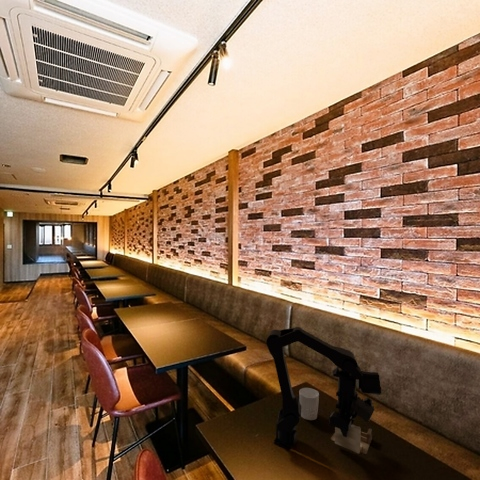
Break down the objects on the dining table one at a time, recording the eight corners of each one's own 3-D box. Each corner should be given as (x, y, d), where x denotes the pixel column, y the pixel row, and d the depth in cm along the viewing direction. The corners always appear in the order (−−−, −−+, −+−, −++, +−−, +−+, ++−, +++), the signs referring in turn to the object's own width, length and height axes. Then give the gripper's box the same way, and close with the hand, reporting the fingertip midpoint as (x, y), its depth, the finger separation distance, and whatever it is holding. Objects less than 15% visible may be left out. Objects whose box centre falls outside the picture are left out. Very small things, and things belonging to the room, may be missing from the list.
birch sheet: (334, 443, 99) (335, 420, 99) (336, 440, 100) (336, 418, 100) (359, 453, 95) (359, 429, 95) (360, 451, 96) (360, 427, 96)
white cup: (304, 409, 123) (304, 385, 123) (321, 416, 118) (322, 392, 118) (295, 417, 117) (295, 393, 117) (313, 425, 112) (313, 400, 112)
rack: (330, 441, 103) (330, 429, 103) (338, 427, 111) (339, 416, 111) (366, 456, 96) (366, 443, 96) (372, 440, 104) (372, 428, 104)
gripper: (365, 411, 86) (364, 463, 86) (377, 386, 101) (376, 430, 101) (328, 398, 92) (327, 446, 92) (345, 376, 107) (344, 418, 107)
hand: (345, 435), depth 98 cm, fingers closed on birch sheet, 1 cm apart
